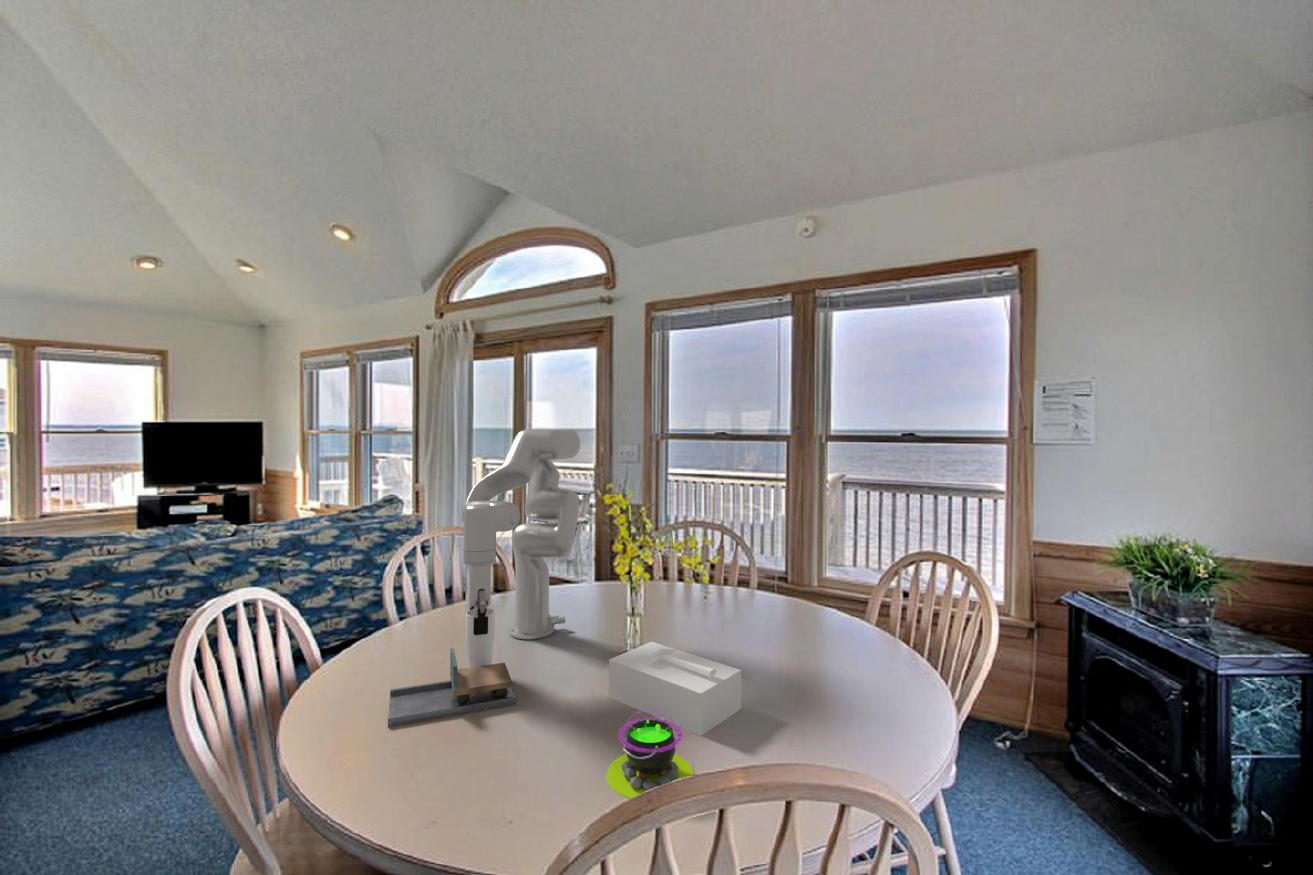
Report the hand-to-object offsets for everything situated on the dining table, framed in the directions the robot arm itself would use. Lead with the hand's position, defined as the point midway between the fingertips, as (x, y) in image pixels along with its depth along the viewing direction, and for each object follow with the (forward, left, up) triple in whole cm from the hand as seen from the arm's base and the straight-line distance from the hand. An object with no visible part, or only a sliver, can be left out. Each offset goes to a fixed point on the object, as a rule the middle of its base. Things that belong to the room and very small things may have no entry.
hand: (478, 628), depth 140 cm
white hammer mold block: (-38, +30, -12) cm, 50 cm away
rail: (+7, +11, -11) cm, 17 cm away
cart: (+1, +11, -11) cm, 16 cm away
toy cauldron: (-23, +52, -12) cm, 59 cm away
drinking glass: (0, -1, -12) cm, 12 cm away
